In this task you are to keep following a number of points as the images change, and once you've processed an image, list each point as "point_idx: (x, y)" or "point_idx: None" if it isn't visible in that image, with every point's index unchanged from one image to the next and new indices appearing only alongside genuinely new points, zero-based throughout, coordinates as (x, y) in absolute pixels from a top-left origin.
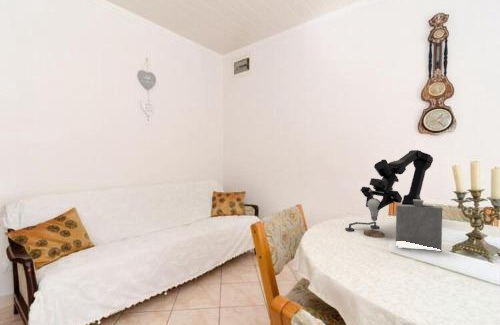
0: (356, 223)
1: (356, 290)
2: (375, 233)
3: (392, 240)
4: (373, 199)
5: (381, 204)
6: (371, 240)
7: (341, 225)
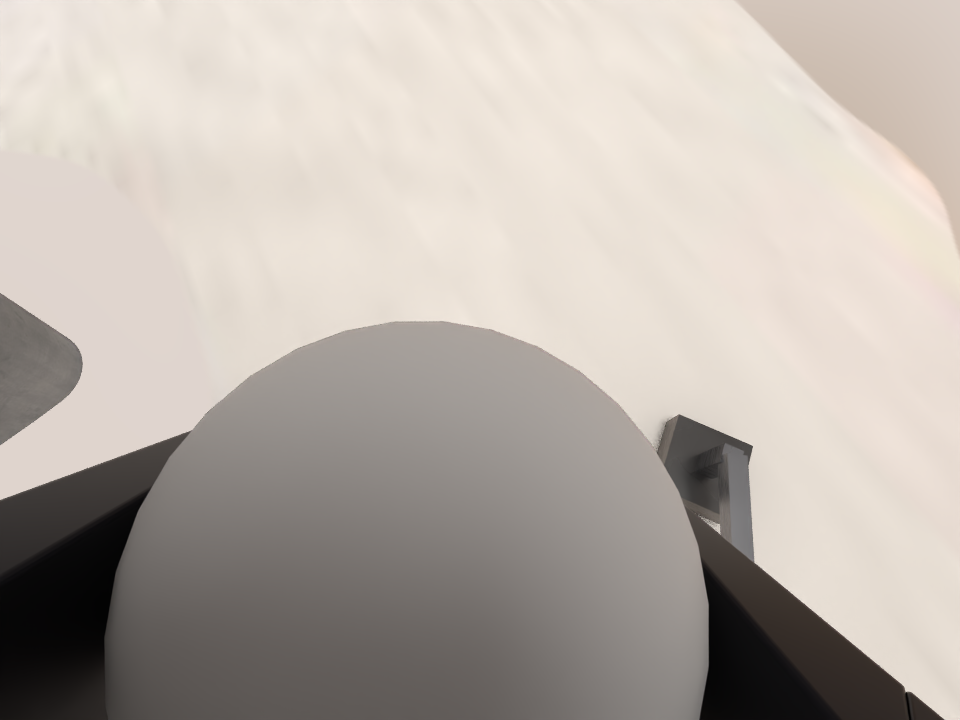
0: None
1: None
2: None
3: None
4: (400, 413)
5: (50, 494)
6: None
7: (908, 600)
